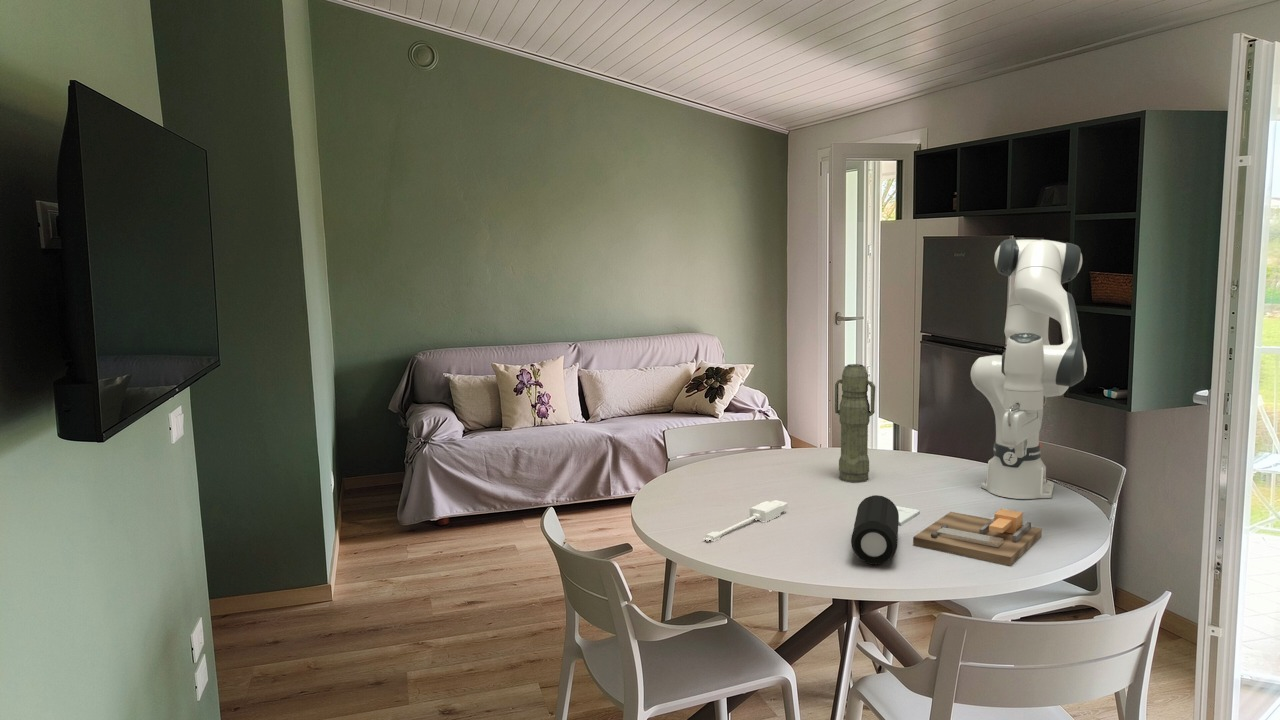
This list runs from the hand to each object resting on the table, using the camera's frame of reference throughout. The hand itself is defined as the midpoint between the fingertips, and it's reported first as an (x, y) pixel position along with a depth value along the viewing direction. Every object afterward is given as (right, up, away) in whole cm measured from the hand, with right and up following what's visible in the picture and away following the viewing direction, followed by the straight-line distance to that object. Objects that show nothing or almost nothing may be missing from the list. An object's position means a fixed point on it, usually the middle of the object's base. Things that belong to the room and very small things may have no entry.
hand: (1020, 456), depth 204 cm
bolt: (-7, -17, -7) cm, 20 cm away
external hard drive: (-26, -18, +14) cm, 35 cm away
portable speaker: (-38, -21, -8) cm, 44 cm away
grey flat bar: (-16, -18, -10) cm, 26 cm away
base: (-12, -20, -5) cm, 24 cm away
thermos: (-28, -13, +51) cm, 59 cm away
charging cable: (-66, -19, +10) cm, 69 cm away
